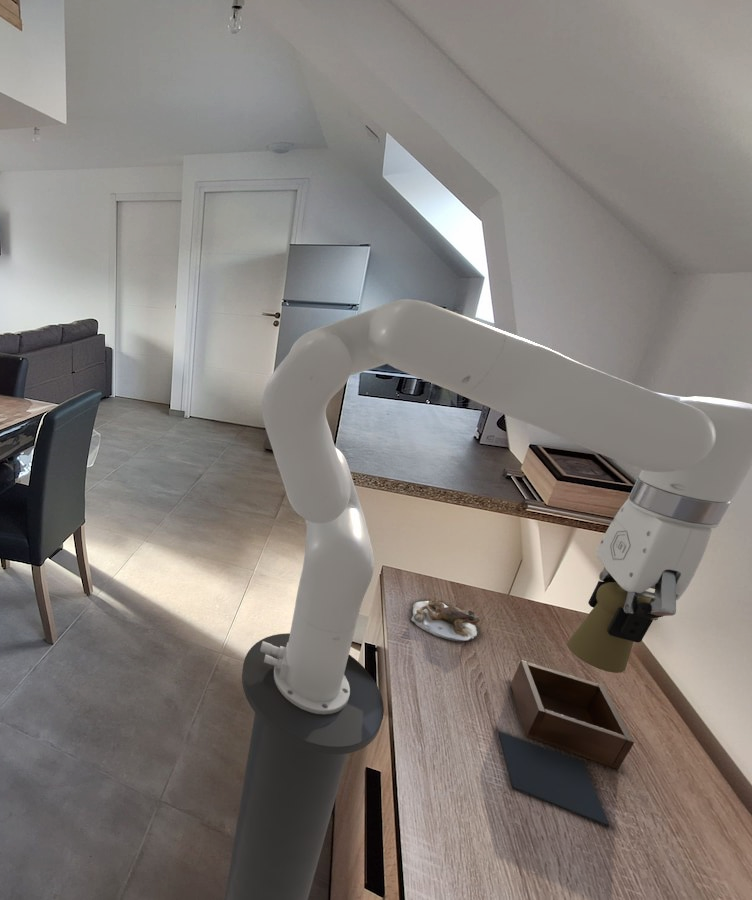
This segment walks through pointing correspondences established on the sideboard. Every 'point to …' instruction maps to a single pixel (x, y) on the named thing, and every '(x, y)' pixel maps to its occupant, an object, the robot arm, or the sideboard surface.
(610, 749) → the open wooden box
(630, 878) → the sideboard surface
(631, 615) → the robot arm
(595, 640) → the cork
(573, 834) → the sideboard surface
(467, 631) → the frog figurine
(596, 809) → the mat
